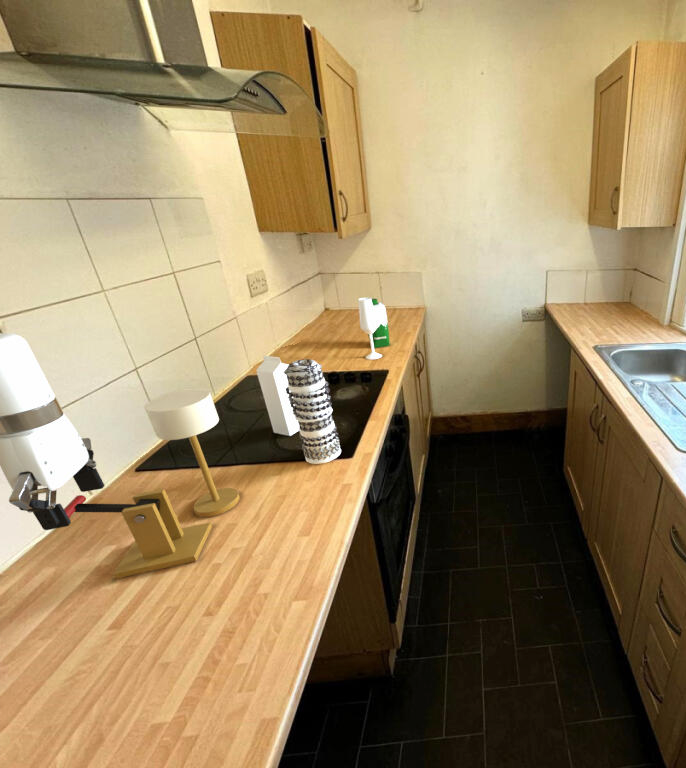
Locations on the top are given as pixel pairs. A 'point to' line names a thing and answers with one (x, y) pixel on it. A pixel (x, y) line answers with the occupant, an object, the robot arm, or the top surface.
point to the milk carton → (380, 326)
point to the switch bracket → (159, 537)
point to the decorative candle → (312, 411)
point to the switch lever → (103, 506)
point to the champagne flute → (368, 323)
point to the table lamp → (191, 438)
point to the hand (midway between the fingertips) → (76, 507)
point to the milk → (277, 395)
